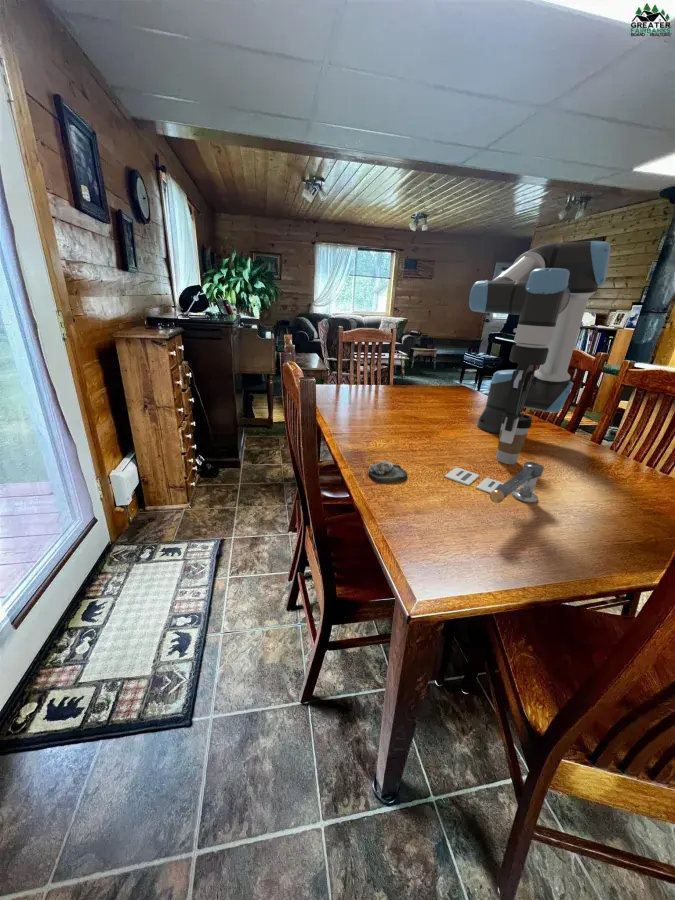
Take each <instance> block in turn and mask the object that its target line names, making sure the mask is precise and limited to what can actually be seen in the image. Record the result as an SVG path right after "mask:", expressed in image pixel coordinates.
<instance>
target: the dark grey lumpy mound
mask: <svg viewBox="0 0 675 900" xmlns="http://www.w3.org/2000/svg"><path fill="white" fill-rule="evenodd" d="M368 476H369V478H370V479H371V480H372V481H374V482H377V483H397V482H403V481H404V480H406V479H407V478H408V472H407V471H406V470H404V469H403V468H402V467H401V466H400V465H399V464H392V461H386V460H385V461H380V460H379V461H378V462H377V464H376V463H373V464H371V465H369V467H368Z"/></svg>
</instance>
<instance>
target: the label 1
mask: <svg viewBox="0 0 675 900" xmlns="http://www.w3.org/2000/svg"><path fill="white" fill-rule="evenodd" d="M479 477H480V474H477V473H474V472H472V471H469V470H466V469H463V468H460V467H454V468H453V469H452V470H450V471H449V472H447V473H446V474H445V475H444V478H446V479H448V480H451V481H454V482H457V483H460V484H463V485H464V486H470V485H471V484H472V483H474V482H475V481H476V480H477V479H478V478H479Z"/></svg>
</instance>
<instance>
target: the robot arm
mask: <svg viewBox="0 0 675 900" xmlns="http://www.w3.org/2000/svg"><path fill="white" fill-rule="evenodd" d="M610 257H611V244H610V243H609V242H608V241H601V240H600V241H599V240H598V241H597V240H590V241H589V240H588V241H573V242H572V241H571V242H550V243H546V244H543V245H539V246H537V247H534V248H531V249H529V250H527V251H525V252H523V253H522V254H520V255H519V256H517V258H516V259H515V260H514V261H513V263H512V265H511V266H510V267H508V268H507V269H506V270H504V271H503V272H501V273H500V274H499V275H498V276H497V277H495V278H494V279H492V280H488V279H485V280H478V281H476V282H474V283H473V285H472V286H471V289H470V293H469V299H468V305H469V306H468V307H469V308H470V311H472V312H476V313H482V314H485V313H486V314H502V315H519V318H518V323H517V327H514V328H513V333H515V334H514V335H515V336H514V339H513V342H514V343H515V344H513V345H511V346H512V347H511V350H510V354H509V361H510V362H511V363H514V364H516V363H517V367H516V369H504V370H503V369H502V370H497V371H496V372H493V376H492V377H491V381H490V385H489V386H490V387H489V389H488V395H487V399H486V402H485V407H484V408H483V411H482V412H481V413H480V415H479V417H478V419H477V423H476V426H477V427H478V428H479V429H481V430H484V431H485V432H489V433H494V434H498V435H500V428H501V426H502V423H501V419H502V418H503V417H506V418H505V422H504V426H503V430H502V434H501V438H500V441H501V442H505V443H509V444H511V443H512V442H513V438H514V435H515V431H516V427H517V423H518V420H519V418H518V417H523V413H522V412H523V409H524V408H526V409H531V410H536V411H540V412H544V413H552V414H557V413H559V412H561V410H563V407H564V405H565V403H566V400H567V399H568V396H569V395H570V392H571V390H572V388H573V385H574V382H573V381H570V380H571V375H570V373H569V372H568V369H569V366H570V363H571V359H572V355H573V352H574V349H575V345H576V342H577V339H578V336H579V332H580V328H581V325H582V321H583V318H584V315H585V311H586V309H587V308H586V307H587V304H588V301H589V298H590V297H592V296H593V295H594V294H595V293H597V291H598V287H602V286H604V285H605V283H606V280H607V275H608V270H609V265H610ZM534 366H539V368H537V369H536V370H535V371H533V369H534Z"/></svg>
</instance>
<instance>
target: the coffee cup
mask: <svg viewBox="0 0 675 900" xmlns="http://www.w3.org/2000/svg"><path fill="white" fill-rule="evenodd" d="M522 414H523V413H522ZM505 418H506V417H503V418H502V419H501V423H502V426H501V428H500V434H498V435H499V437H498V443H497V451H496V457H495V458H496V460H497V461H498V462H500V463H502V464H505V465H515V464H516V463H517V461H518V458H519V456H520V453H521V451H522V448H523V446H524V443H525V441H526V438H527V436H528V431H529V429H530V428H531V426H532V421H533V417H532V416H531V415H528V414H525V413H524V414H523V417H518V418H519V420H518V423H517V427H516V431H515V435H514V438H513V442H512V443H511V444H509V443H505V442H501V441H500V438H501V434H502V430H503V426H504V422H505Z"/></svg>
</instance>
